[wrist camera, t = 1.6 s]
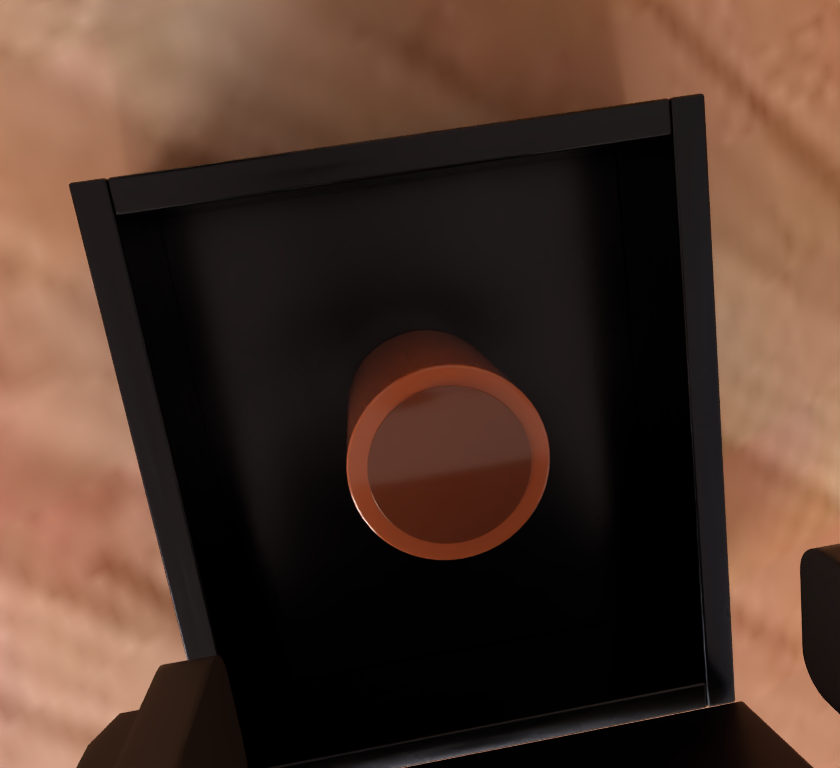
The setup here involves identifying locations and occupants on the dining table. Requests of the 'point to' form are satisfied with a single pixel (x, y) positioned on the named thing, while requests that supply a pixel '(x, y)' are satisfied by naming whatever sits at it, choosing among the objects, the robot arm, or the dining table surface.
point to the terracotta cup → (442, 447)
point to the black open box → (327, 426)
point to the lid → (652, 745)
